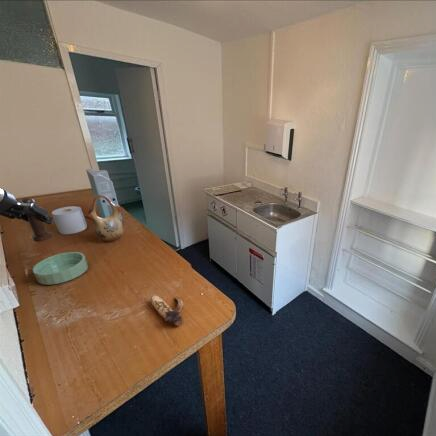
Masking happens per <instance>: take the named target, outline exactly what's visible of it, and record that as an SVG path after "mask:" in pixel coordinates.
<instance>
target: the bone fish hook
mask: <svg viewBox="0 0 436 436" xmlns="http://www.w3.org/2000/svg"><path fill="white" fill-rule="evenodd" d="M174 300H175V301H176V302H177V306H176V307H175V308H174V309H173V308H171V306H170V305H169V304H168V303H166V302H165V301H164V299H162V298H161V297H159V295H157V294H154V295H152V296H151V297H150V303H151V305H152V306H153V307H154V309H155V310H156V311H157V313H158V314H159V315H160V316H161V317H162V318H163V319H164V322H167V323H169V324H171V325H172V324H173V325H174V326H175V327H179V326H181V325H182V322H183V320H182V317H183V316H182V315H180V313H181V312H182V311H183V308H184V302H183V300H182V299H180V298H179V297H174Z"/></svg>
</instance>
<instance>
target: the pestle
mask: <svg viewBox="0 0 436 436" xmlns="http://www.w3.org/2000/svg"><path fill="white" fill-rule="evenodd" d="M20 201H22V202H23V203H29V202H30V201H32V202H34V203H35V204H36V201H35V200H34V198H31V197H23V198H21V199H20ZM26 217H27V219H28V221H29V222H28V223H29V225H30V228H31V230H32V232H33V234H32V236H31V237H32V239H33V241H34V242H44V241H48V240H50V239H52V238H53V235H52V232H51V231H50V230H47V227H46V225H45V222H42V221H40V220H38V219H37V217H34V216H31V215H28V214H26Z"/></svg>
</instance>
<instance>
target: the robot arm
mask: <svg viewBox="0 0 436 436" xmlns="http://www.w3.org/2000/svg"><path fill="white" fill-rule="evenodd" d="M48 213H49V211H48V210H46V209H44V208H43V207H42V206H40V205H38V204H37V203H36V202H35V203H34V202H32V201H30V202H29V203H23V202H22V201H21V200H18V199H16V197H15V196H14V195H13V194H12V193H11V192H9V191H7V190H6V189H4V188H1V187H0V216H1V217H4V218H7V219H10V220H15V219H17V220H23V221H25V222H27V223H29V221H28V219H27V217H26V214H28V215H31V216H34V217H37V219H38V220H40V221H42V222H43V223H44V224H47V225H52V222H53V217H51V216H50V215H48Z"/></svg>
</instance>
